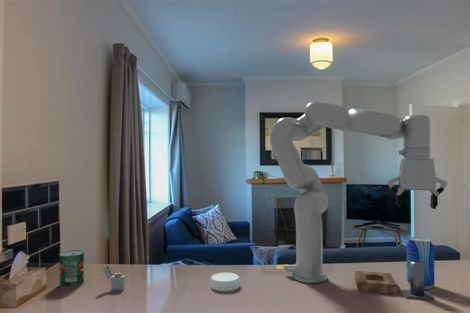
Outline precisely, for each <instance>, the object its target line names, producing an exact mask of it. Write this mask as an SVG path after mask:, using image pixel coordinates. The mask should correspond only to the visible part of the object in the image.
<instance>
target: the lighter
mask: <svg viewBox="0 0 470 313" xmlns="http://www.w3.org/2000/svg"><path fill="white" fill-rule="evenodd" d="M102 270H103V273H104V274H105V276H106V278H107V279H110V290H111V291H123V290H125V288H126V284H125V283H126V280H125V279H126V278H125V277H126V276H125V275H123V274H122V273H121V272H115V273H114V275H113V272H112V270H111V268H110V266H109V265H108V264H106V265H104V266H102Z"/></svg>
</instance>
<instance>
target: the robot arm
mask: <svg viewBox="0 0 470 313" xmlns="http://www.w3.org/2000/svg"><path fill="white" fill-rule="evenodd" d="M325 127H326V128H329V129H333V130H334V129H335V130H338V131H344V132H349V133H350V132H354V133H355V132H356V133H362V134H368V135H372V136H374V137H375V136H376V137H381V138H384V139H388V140H396V139H397V140H398V139H403V148H402V150H398V156H400V155H401V156H402V157H403V158H401V159H400V164H399V171H398V175H397V176H396V177H394V178H391V179H388V180H387V182H386V183H387V185H388V186H389V189H390V190H391V191H392V192H393V193H394V194H395V195H396V198H395V199H396V200H395V202H396V203H395V204H396V205H397V207H398V208H399V209H402V208H403V207H404V206H403V205H404V203H403V195H402V194H403V192H405V190H408V191H429V192H430V193H431V195H430V208H431V209H433V210H436V209H437V207H438V205H439V203H438V202H439V196H440V195H441V194H442V193H443V192H444V191H445V188H446V187H447V185H448V182H447V181H445V180H443V179H441V178H439V177H437V176H436V168H435V161H434V159H433V158H431V119H430V117H429V116H428V115H426V114H425V115H424V114H412V115H408V116H405V117H398V116H396V115H395V114H391V113H386V112H380V111H374V110H369V109H363V108H362V109H361V108H357V107H353V106H348V105H340V104H335V103H330V102H324V101H317V100H316V101H312V102H309V103H308V104H306V106H305V107H304V112H303V115H302V116H300V117H299V118H293V117H289V116H288V117H282V118H280V119H279V120H277V121H276V122H275V123H274V125H273V127H272V128H271V132H270V134H269V135H270V136H269V142H270V146H271V149H272V151H273V154H274V156H275V157H276V161H277V163H278V167H279V168H280V170H281V173H282V175H283V177H284V179H285V182H286V184H287V186H288V187H289V188H290V189H292V190H295V191H298V192H299V195H298V196H297V197H296V198H295V201H294V204H293V212H294V218H295V245H296V246H295V247H296V248H295V249H296V250H295V254H296V255H295V258H296V259H295V261H296V262H295V264H292V265H290V264H283V265H284V268H283V269H284V271H286V272H292V273H291V278H292V279H294V280H295V281H297V282H301V283H306V284H318V283H319V284H320V283H324V282H326V281H327V280H328V275H327V273H325V272H324V266H323V265H324V264H323V262H324V260H323V259H324V258H323V255H324V254H323V253H324V252H323V251H324V250H323V249H324V246H323V242H324V241H323V240H324V239H323V238H324V237H323V222H322V214H323V213H324V212H326V210H328V207H329V197H328V194H327V193H326V190H325V187H324V186H323V183H322V181H321V179H320V177H319V175H318V173H317V171H316V170H315V169H314V167H312V166H310V165H309V164H305V163H304V162H303V160H302V158H301V155H300V153H299V151H298V149H297V148H296V146H295V144H294V142H299V141H303V140H305V139H306V138H309V137H310V136H312V135H313V134H316V133H317V132H319V131H320V130H322V129H324V128H325ZM397 182H398V188H396V187H395V183H397ZM437 183H439V187H438V188H437ZM436 188H437V189H436Z"/></svg>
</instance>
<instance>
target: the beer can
mask: <svg viewBox="0 0 470 313" xmlns="http://www.w3.org/2000/svg"><path fill="white" fill-rule="evenodd" d="M413 260H416V261H422V262H424V290H431V289H432V288H433V286H435V246H434V244H433V243H432V240H431V239H430V238H429V237H428V238H427V237H423V236H422V237H420V236H411V237H409V240H408V242H406V281H407V283H408V284H409V286H410V261H413Z"/></svg>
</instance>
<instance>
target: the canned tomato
mask: <svg viewBox="0 0 470 313" xmlns="http://www.w3.org/2000/svg"><path fill="white" fill-rule="evenodd" d="M58 255H59V288H62V289H72V288H78V287H80V286H83V285H84V283H85V251H84V250H81V249H73V250H66V251H63V252H60V253H59V254H58Z"/></svg>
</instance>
